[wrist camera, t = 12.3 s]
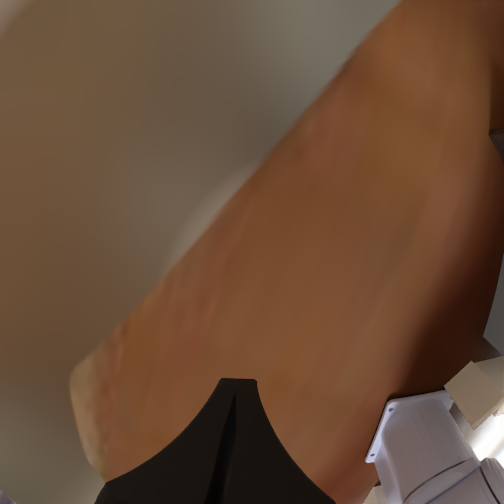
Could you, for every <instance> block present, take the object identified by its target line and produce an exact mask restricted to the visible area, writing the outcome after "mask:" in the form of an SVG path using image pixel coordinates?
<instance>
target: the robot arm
mask: <svg viewBox="0 0 504 504" xmlns="http://www.w3.org/2000/svg"><path fill="white" fill-rule="evenodd" d="M453 402H454V400H453V399H452V397H451V396H450V395H449V393H448V392H447V390H442V391H437V392H432V393H427V394H422V395H416V396H411V397H405V398H398V399H392V400H390V401H388V402H387V404H386V407H385V410H384V412H383V415H382V418H381V421H380V423H379V426H378V429H377V431H376V434H375V436H374V439H373V441H372V444H371V446H370V449H369V451H368V453H367V456H366V458H365V461H366V462H367V463H370V462H374V463H375V466H376V469H377V472H378V476H379V479H380V482H381V486H382V489H383V492H384V496H385V499H386V501H387V503H388V504H504V469H503V467H502V466H501V465H500V463H499V462H498V461H497V460H496V459H495V458H487V457H486V458H485V459H483V460H482V461H479V460H478V458H477V457H476V455H475V453H474V452H473V450H472V448H471V446H470V445H469V443H468V441H467V440H466V438H465V436H464V435H463V433H462V431H461V430H460V428H459V427H458V425H457V423H456V422H455V420H454V419H453V417H452V415H451V414H450V412H449V410H450V408H451V406H452V404H453ZM0 504H16V503H15V502H13V501H11V499H10V498H9V497H8V496H7V495H6V494H5V493H4V492H3V491H2V490H1V489H0ZM95 504H336V503H335V501H334V500H333V499H332V498H330V497H329V496H328V495H327V494H325V493H324V492H323V491H322V490H321V489H320V488H319V487H317V486H316V485H315V484H314V483H313V482H312V481H311V480H310V479H309V478H308V477H307V476H306V475H305V473H304V472H303V471H302V470H301V469H300V468H299V467H298V465H297V464H296V463H295V462H294V461H293V459H292V458H291V457H290V455H289V454H288V453H287V451H286V450H285V448H284V447H283V445H282V444H281V442H280V441H279V439H278V437H277V436H276V434H275V432H274V430H273V428H272V426H271V424H270V422H269V420H268V418H267V416H266V413H265V411H264V408H263V406H262V403H261V400H260V397H259V393H258V388H257V381H256V380H255V379H233V378H222V379H220V380H219V382H218V384H217V386H216V388H215V390H214V391H213V393H212V395H211V396H210V398H209V399H208V401H207V402H206V404H205V405H204V406H203V408H202V409H201V410H200V412H199V413H198V414H197V416H196V417H195V418H194V419H193V420H192V421H191V423H190V424H189V425H188V426H187V427H186V428H185V429H184V430H183V432H182V433H181V434H180V435H179V436H177V437H176V438H175V439H174V440H173V441H172V442H171V443H170V444H169V445H167V446H166V447H165V448H164V449H163V450H161V451H160V452H159V453H158V454H156V455H155V456H153V457H152V458H151V459H149V460H147V461H146V462H144V463H143V464H141V465H140V466H138V467H136V468H135V469H133V470H131V471H129V472H127V473H125V474H123V475H121V476H119V477H117V478H115V479H113V480H111V481H108V482H106V484H105V485H104V487H103V488H102V490H101V491H100V493H99V495H98V497H97V499H96V502H95Z"/></svg>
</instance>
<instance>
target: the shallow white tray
mask: <svg viewBox="0 0 504 504" xmlns="http://www.w3.org/2000/svg"><path fill="white" fill-rule="evenodd" d="M444 387H445V389H446V390H447V392H448V393H449V395H450V396H451V397H452V399H453V400H454V402H455V403H456V405H457V406H458V408H459V409H460V411H461V412H462V414H463V415H464V417H465V418H466V420H467V421H468V423H469V424H470V426H471V427H472V429H473V430H474V429H476V428H477V427H478V426H479V425H480V424H481V423H482V422H484V421H485V420H486V419H487V418H488V417H489V416H490V415H491V414H493V415H494V417H495V416H498V415H500V414H503V413H504V356H500V357H496V358H492V359H488V360H484V361H480V362H475V363H473V362H472V360H471V361H470V362H469V363H468V364H467V365H466V366H465V367H464V368H463V369H462V370H461V371H460V372H459V373H458V374H456V375H455V376H454V377H453V378H452V379H451V380H450V381H449V382H447V383H446V384H445V385H444Z"/></svg>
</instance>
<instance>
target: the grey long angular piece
mask: <svg viewBox="0 0 504 504" xmlns="http://www.w3.org/2000/svg"><path fill="white" fill-rule="evenodd" d="M489 136H490V138H491V140H492V141H493V143H494V145H495V147H496V148H497V150H498V152H499V154H500V156H501V158H502V159H503V161H504V129H496V130H493V131H492V132H491V133H490V135H489Z"/></svg>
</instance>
